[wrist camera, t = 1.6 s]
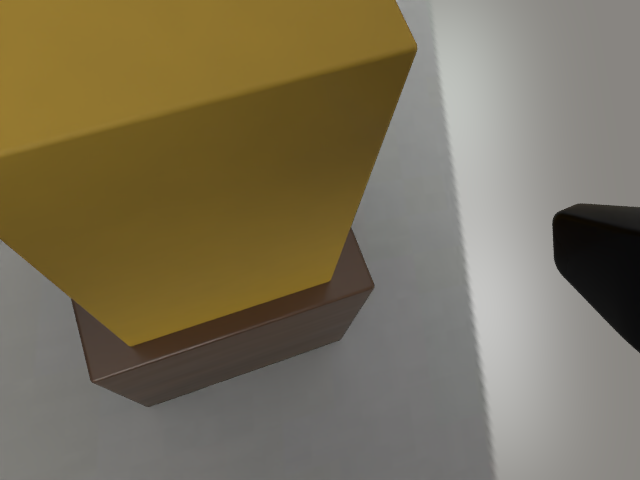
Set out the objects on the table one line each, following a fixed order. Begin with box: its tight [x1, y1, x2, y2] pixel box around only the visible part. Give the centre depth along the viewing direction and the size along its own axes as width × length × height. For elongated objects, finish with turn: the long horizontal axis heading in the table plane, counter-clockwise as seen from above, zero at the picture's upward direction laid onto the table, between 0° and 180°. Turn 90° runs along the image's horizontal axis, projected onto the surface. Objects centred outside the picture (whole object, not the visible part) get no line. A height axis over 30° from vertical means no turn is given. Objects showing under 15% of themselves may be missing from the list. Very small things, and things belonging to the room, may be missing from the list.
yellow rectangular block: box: [0, 0, 417, 346], centre depth 11 cm, size 5×6×9 cm
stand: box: [71, 228, 374, 407], centre depth 18 cm, size 7×7×7 cm
